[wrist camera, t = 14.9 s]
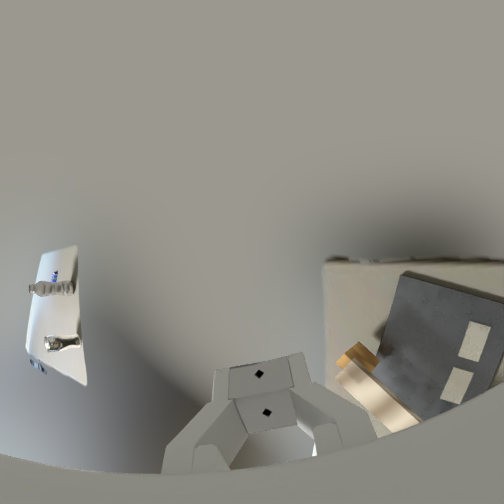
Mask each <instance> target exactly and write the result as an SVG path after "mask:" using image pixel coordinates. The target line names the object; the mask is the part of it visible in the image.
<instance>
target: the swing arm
mask: <svg viewBox="0 0 504 504" xmlns="http://www.w3.org/2000/svg"><path fill="white" fill-rule="evenodd" d="M379 362H380V360H379V359H378V358H377V357H376V356H374V355H373V354H372V353H371V352H370V351H369V350H368V349H367V348H366V347H365V346H363V345H362V344H361V343H360V342H358V343H357V344H355V345H354V346H353V347H352V348H351V349H349V350H348V351H347V352H346V353H344V354H343V355H342V357H341V358H340V359H339V360H338V361H337V362H336V364H337V365H338V366H340V367H341V368H342V369H343V370H342V371H341V372H340V373H339V374H338V375H337V376H336V377H335V379H336V380H337V381H338V382H339V383H340V384H341V385H342V386H343V387H344V388H345V389H346V390H347V391H348V392H349V393H350V394H352V395H353V396H354V397H355V398H356V399H357V400H358V401H359V402H360V403H361V404H362V405H363V406H364V407H366V408H367V409H368V410H369V411H370V412H371V413H372V414H373V415H374V416H375V417H376V418H377V419H379V420H380V421H381V422H382V423H383V424H384V425H385V426H386V427H387V428H388V429H390V430H391V431H392V432H393V433H395V432H397V431H400V430H403V429H405V428H408V427H410V426H413V425H416V424H418V423H420V422H423V420H422V419H421V418H420V417H419V416H418V415H417V414H415V413H414V412H413V411H412V410H411V409H410V408H409V407H408V406H407V405H406V404H405V403H403V402H402V401H401V400H400V399H399V398H398V397H397V396H396V395H395V394H394V393H392V392H391V391H390V390H389V389H388V388H387V387H386V386H385V385H384V384H383V383H382V382H380V381H379V380H378V379H377V378H376V377H375V376H374V375H373V374H372V373H371V372H372V371H373V370H374V368H375V367H376V366H377V364H378V363H379Z"/></svg>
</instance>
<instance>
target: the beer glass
mask: <svg viewBox="0 0 504 504" xmlns="http://www.w3.org/2000/svg"><path fill="white" fill-rule="evenodd" d="M44 343H45V348H46V350H47V352H59V351H63V350H66V349H69V348H80V347H81V339H80V336H79V335H78V334H73V335H50V336H45V338H44Z"/></svg>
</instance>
